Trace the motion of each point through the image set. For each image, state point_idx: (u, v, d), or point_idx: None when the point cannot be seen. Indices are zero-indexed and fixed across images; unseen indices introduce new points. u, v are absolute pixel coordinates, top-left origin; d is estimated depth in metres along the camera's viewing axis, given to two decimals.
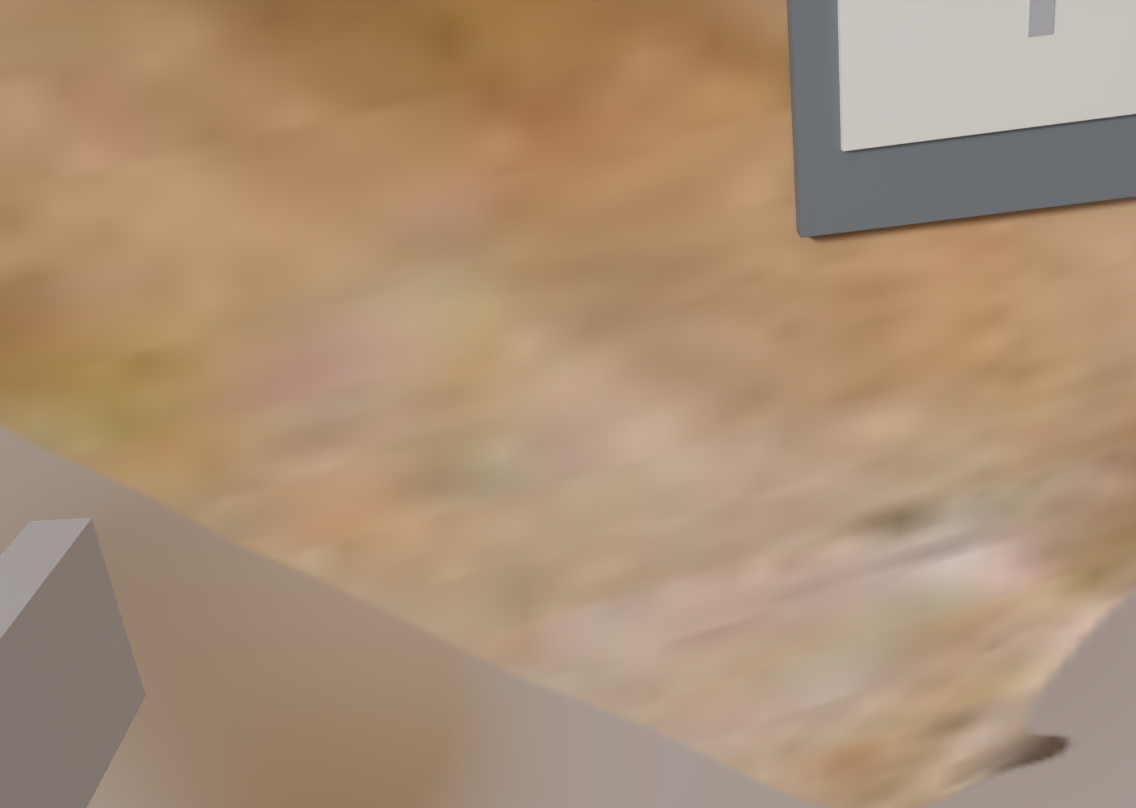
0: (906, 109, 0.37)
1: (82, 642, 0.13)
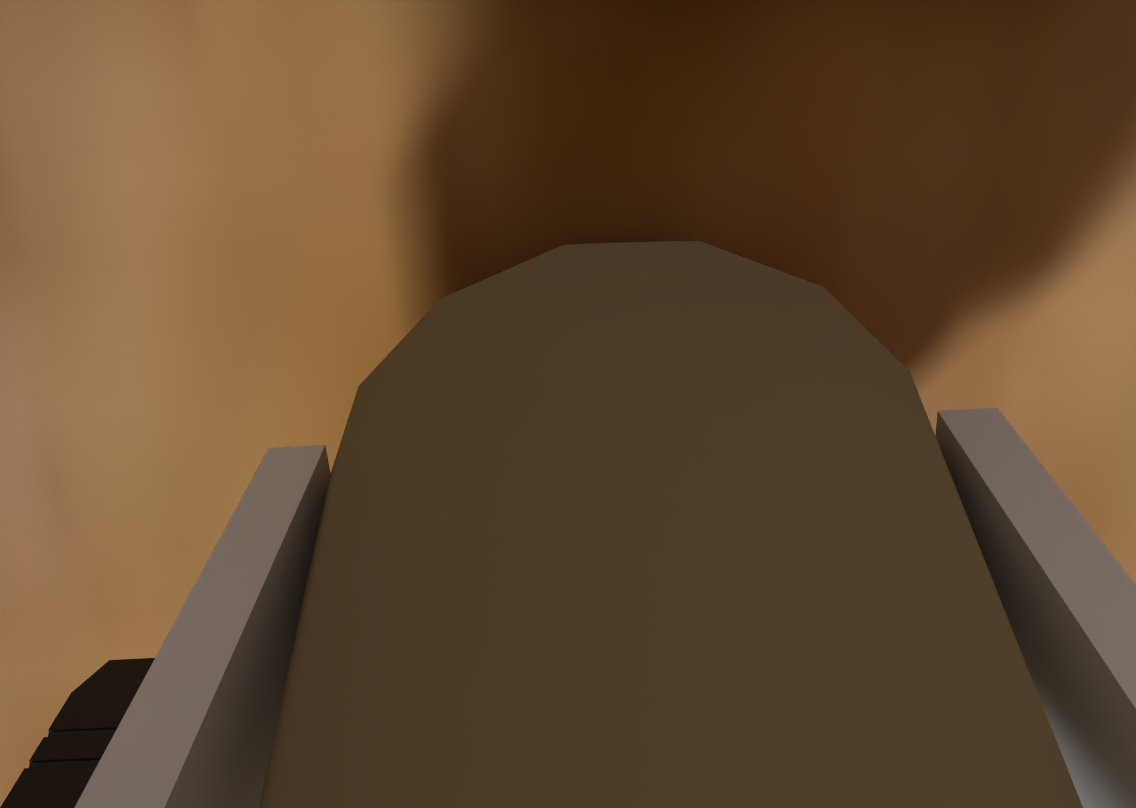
0: None
1: None
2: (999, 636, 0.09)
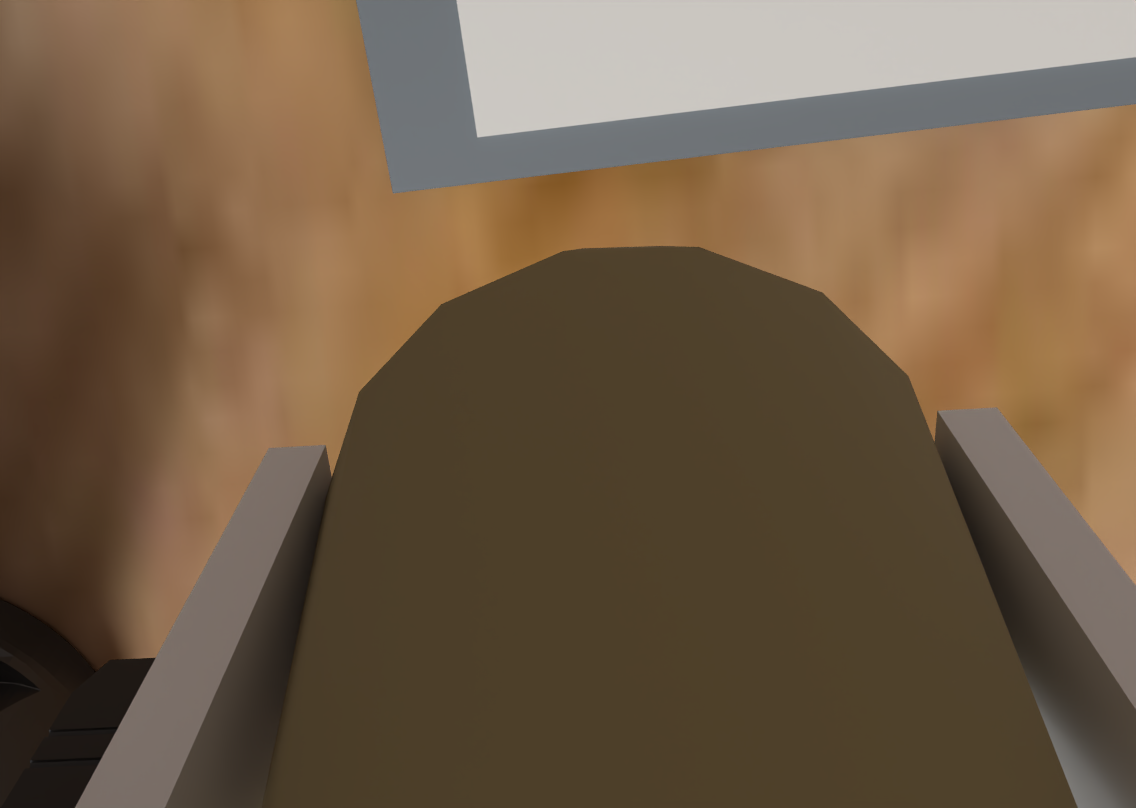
0: None
1: None
2: (998, 644, 0.09)
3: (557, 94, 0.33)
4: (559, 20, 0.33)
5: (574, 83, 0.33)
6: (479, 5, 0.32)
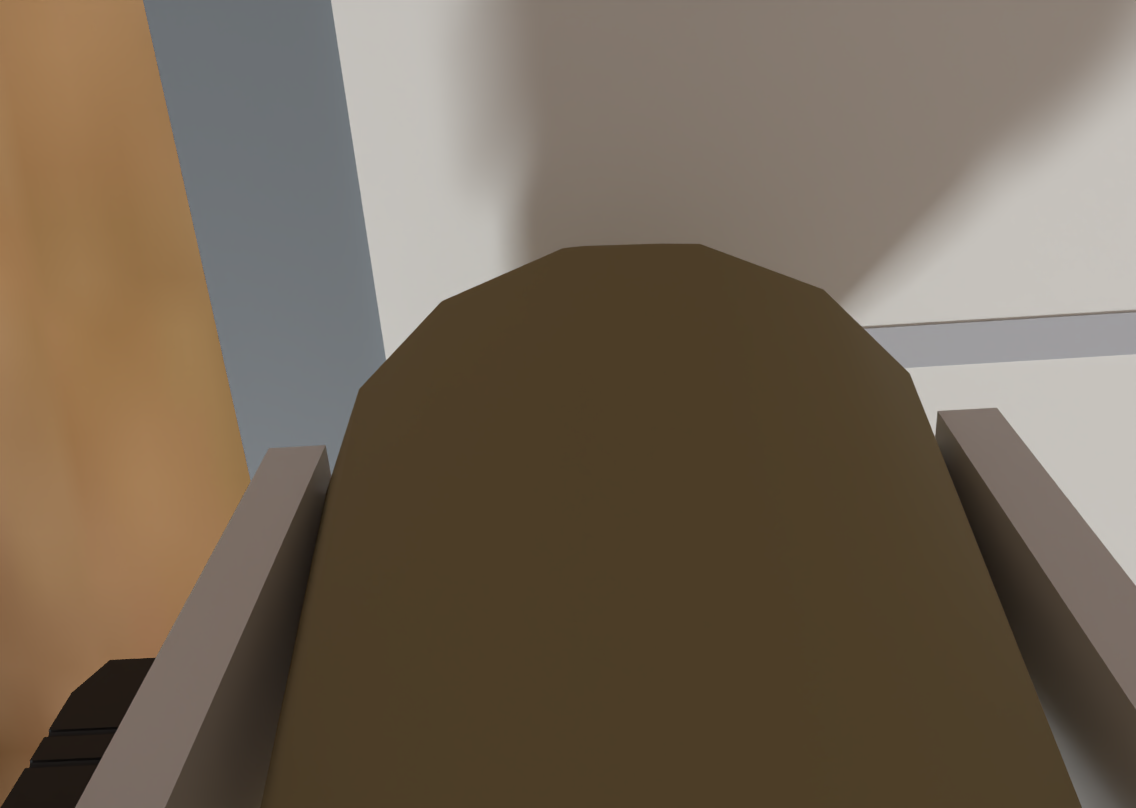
0: None
1: None
2: (999, 641, 0.09)
3: None
4: None
5: None
6: None
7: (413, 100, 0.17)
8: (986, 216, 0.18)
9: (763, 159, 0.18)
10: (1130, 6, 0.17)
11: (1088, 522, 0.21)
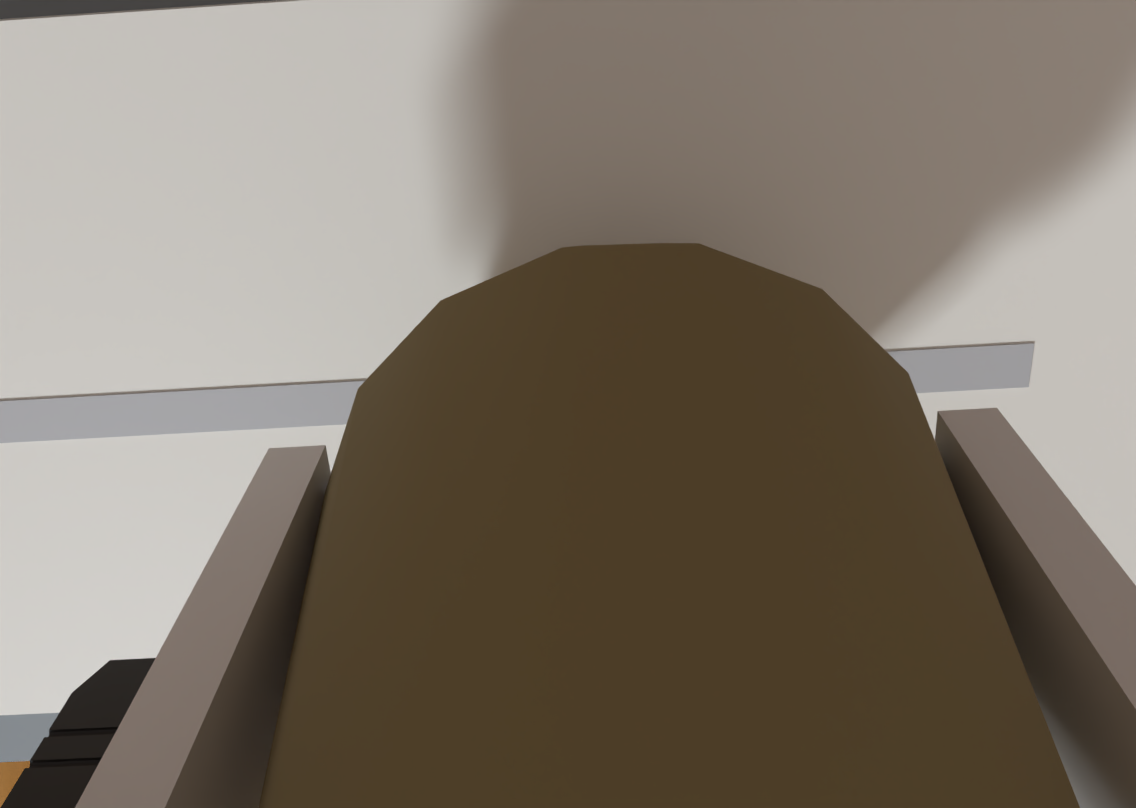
0: None
1: None
2: (997, 639, 0.09)
3: (48, 673, 0.21)
4: (34, 581, 0.20)
5: (73, 660, 0.21)
6: None
7: None
8: (385, 272, 0.18)
9: (143, 214, 0.17)
10: (482, 62, 0.16)
11: None
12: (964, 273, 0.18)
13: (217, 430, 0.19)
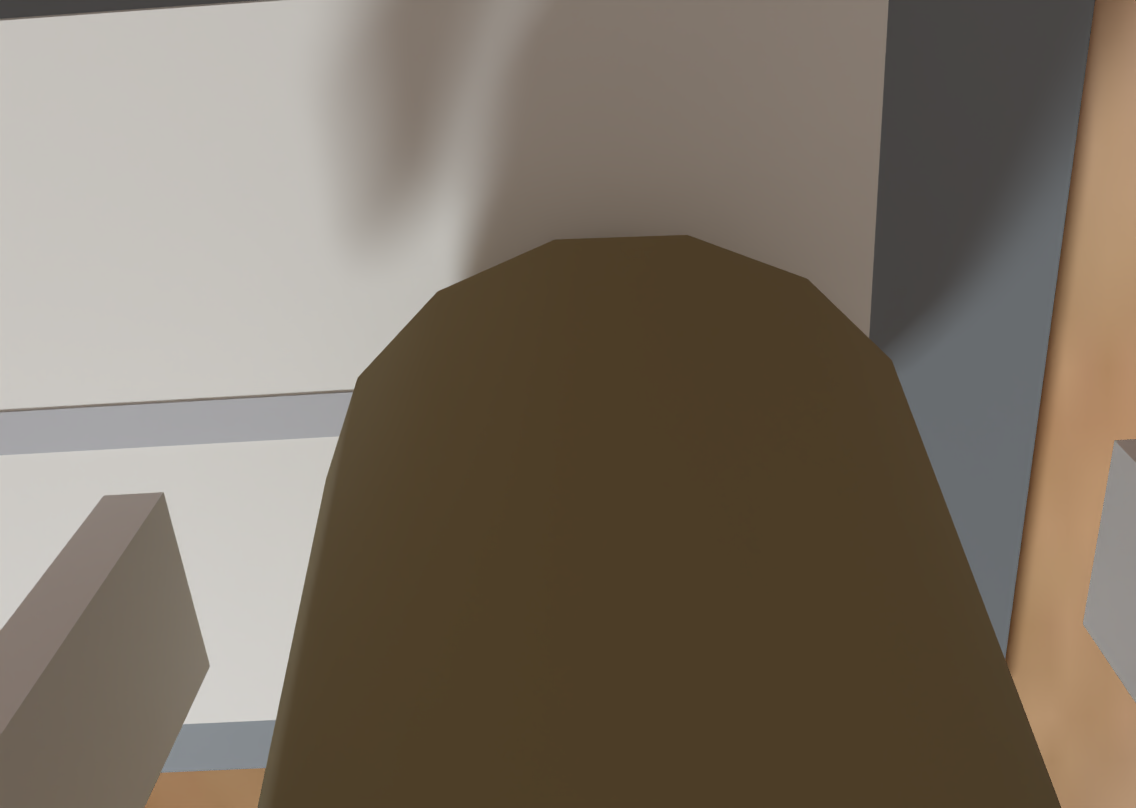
0: None
1: (157, 611, 0.13)
2: (970, 610, 0.09)
3: None
4: None
5: None
6: None
7: None
8: (12, 303, 0.17)
9: None
10: (76, 90, 0.16)
11: (247, 610, 0.20)
12: None
13: None
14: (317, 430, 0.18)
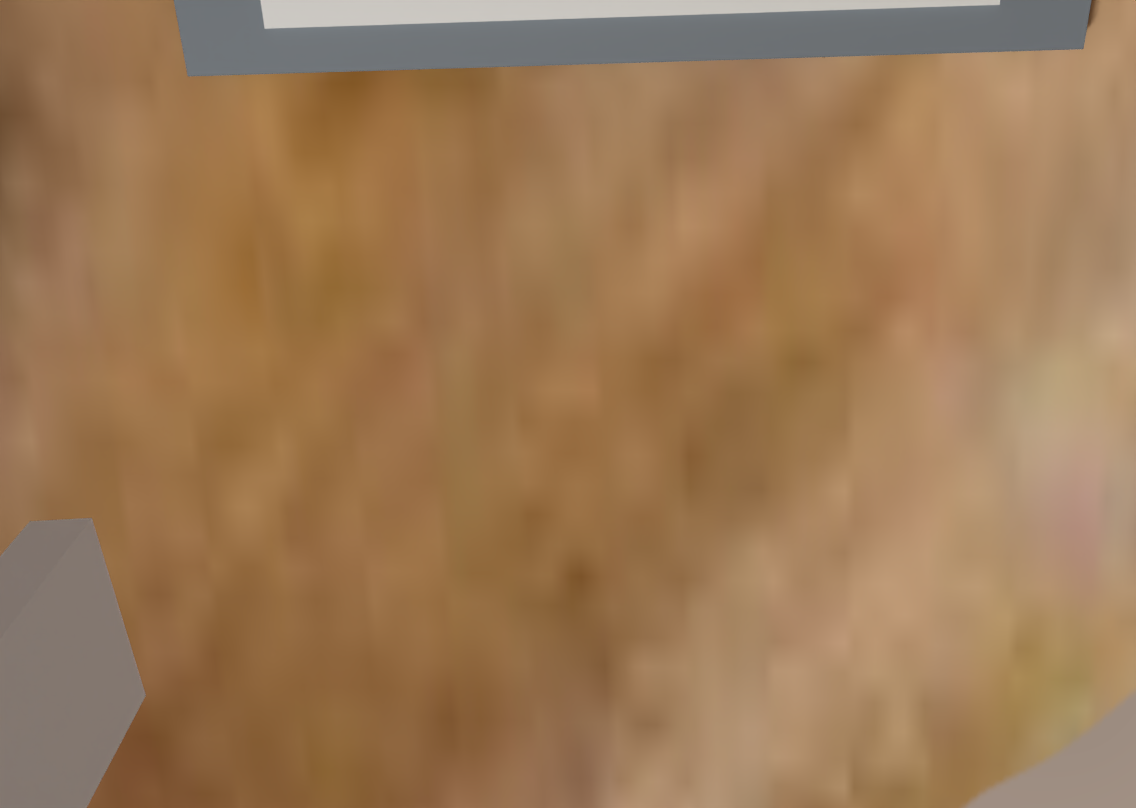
0: None
1: (82, 642, 0.13)
2: None
3: None
4: None
5: None
6: None
7: None
8: None
9: None
10: None
11: None
12: None
13: None
14: None
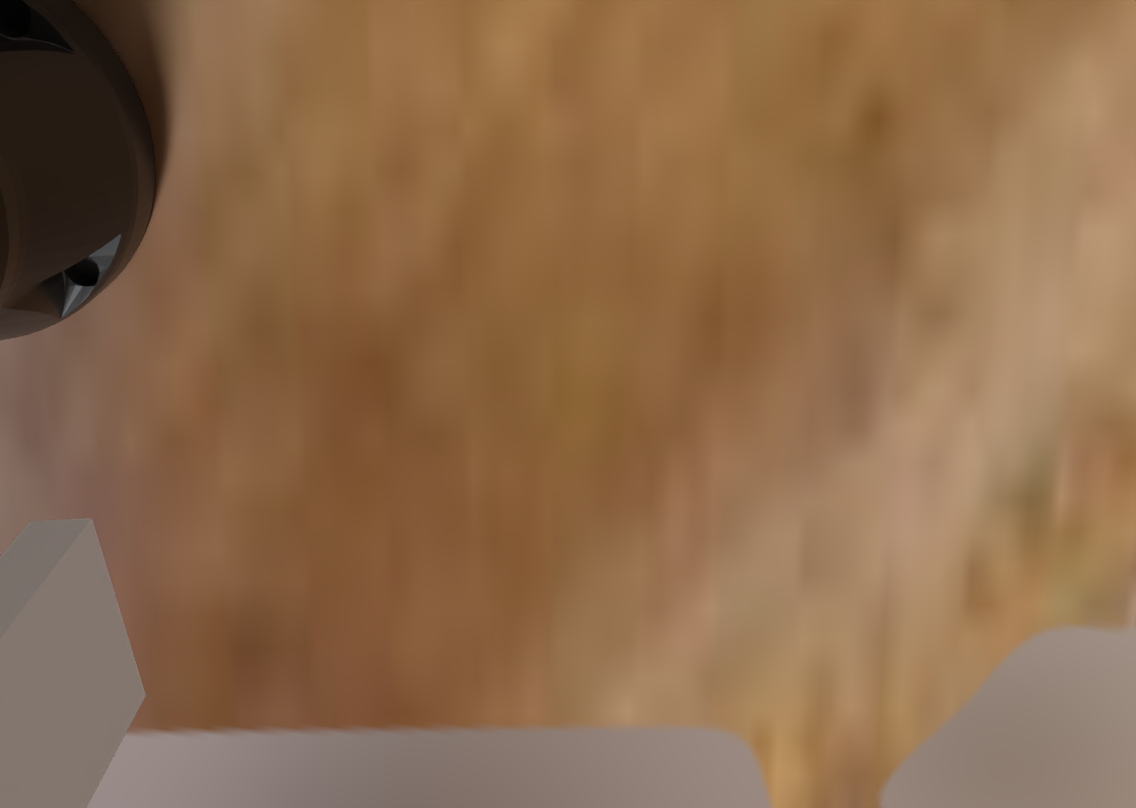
0: None
1: (82, 642, 0.13)
2: None
3: None
4: None
5: None
6: None
7: None
8: None
9: None
10: None
11: None
12: None
13: None
14: None
